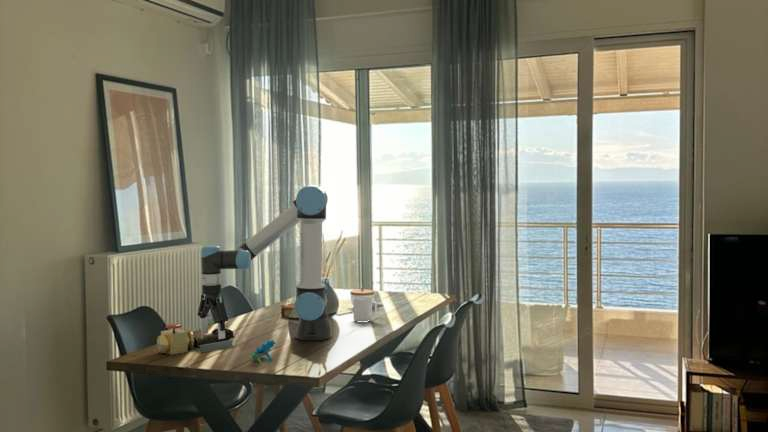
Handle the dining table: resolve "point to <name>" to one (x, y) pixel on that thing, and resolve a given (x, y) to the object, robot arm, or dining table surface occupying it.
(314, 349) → the dining table surface
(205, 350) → the blue-grey u-shaped block
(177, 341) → the brass valve
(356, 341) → the dining table surface
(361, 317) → the mug
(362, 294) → the lidded bowl
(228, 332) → the dark brown elongated piece
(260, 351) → the blue green toy
